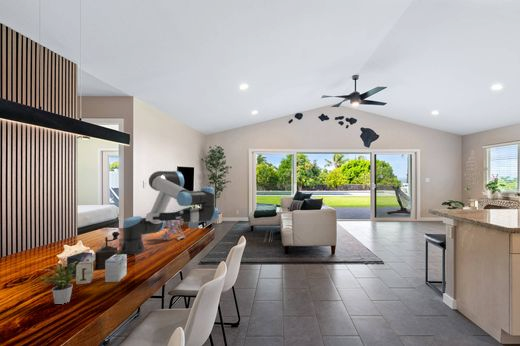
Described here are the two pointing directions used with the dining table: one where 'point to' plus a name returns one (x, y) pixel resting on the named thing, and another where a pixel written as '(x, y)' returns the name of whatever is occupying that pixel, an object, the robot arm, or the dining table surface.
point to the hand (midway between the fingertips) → (146, 217)
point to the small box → (78, 260)
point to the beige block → (84, 272)
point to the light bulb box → (115, 268)
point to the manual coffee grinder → (105, 253)
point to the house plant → (61, 284)
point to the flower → (173, 231)
